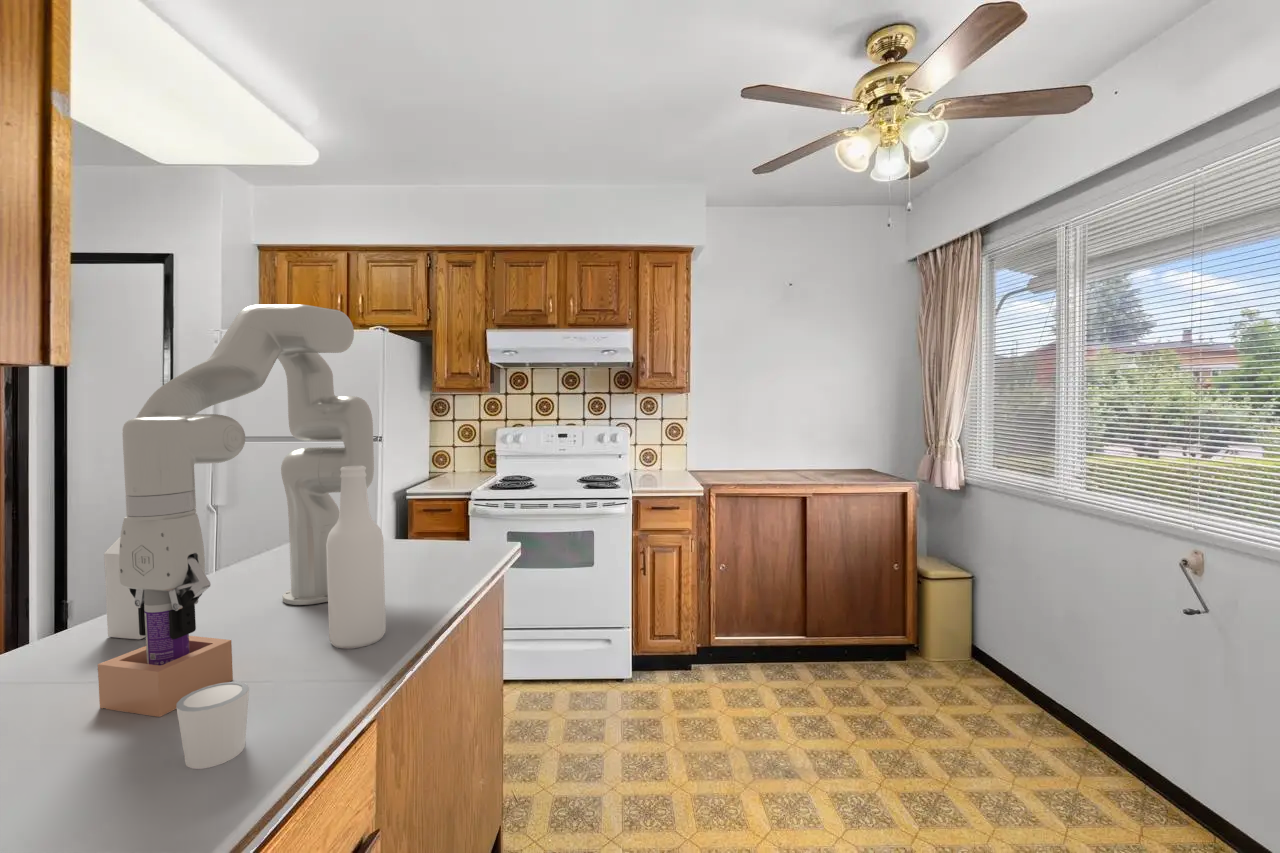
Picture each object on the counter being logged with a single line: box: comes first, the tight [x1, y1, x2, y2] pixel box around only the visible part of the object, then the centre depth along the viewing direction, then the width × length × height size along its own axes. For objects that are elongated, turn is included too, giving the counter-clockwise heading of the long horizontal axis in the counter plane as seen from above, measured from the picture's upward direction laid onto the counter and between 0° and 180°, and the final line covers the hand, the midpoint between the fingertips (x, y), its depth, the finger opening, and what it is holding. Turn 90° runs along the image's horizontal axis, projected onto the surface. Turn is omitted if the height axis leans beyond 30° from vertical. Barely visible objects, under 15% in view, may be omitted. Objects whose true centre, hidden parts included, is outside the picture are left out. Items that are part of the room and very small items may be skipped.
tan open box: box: [97, 635, 234, 718], centre depth 82 cm, size 10×10×6 cm
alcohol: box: [326, 466, 387, 650], centre depth 100 cm, size 9×9×30 cm
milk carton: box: [103, 535, 146, 640], centre depth 105 cm, size 7×7×19 cm
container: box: [144, 582, 190, 666], centre depth 82 cm, size 5×5×15 cm
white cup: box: [176, 681, 250, 770], centre depth 67 cm, size 7×7×7 cm
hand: (167, 632), depth 82 cm, fingers closed on container, 4 cm apart
